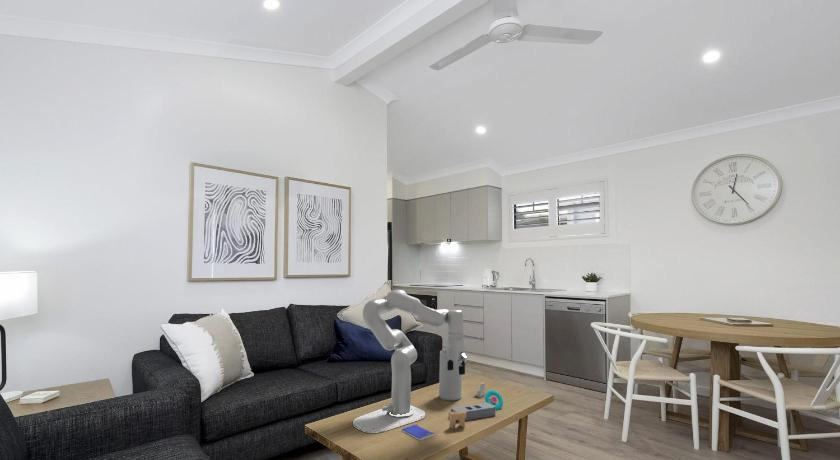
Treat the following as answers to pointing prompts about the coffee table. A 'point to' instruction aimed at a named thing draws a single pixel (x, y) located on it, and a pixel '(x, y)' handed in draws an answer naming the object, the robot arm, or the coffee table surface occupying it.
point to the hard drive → (417, 432)
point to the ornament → (494, 399)
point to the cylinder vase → (449, 379)
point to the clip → (455, 416)
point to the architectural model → (481, 390)
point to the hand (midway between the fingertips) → (456, 372)
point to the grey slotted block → (476, 410)
